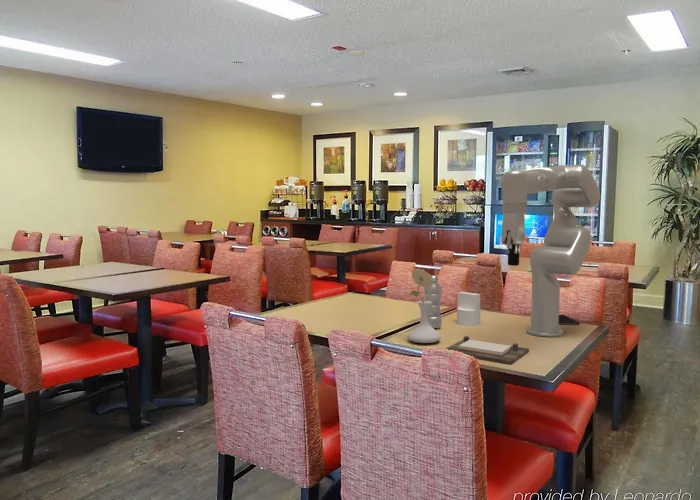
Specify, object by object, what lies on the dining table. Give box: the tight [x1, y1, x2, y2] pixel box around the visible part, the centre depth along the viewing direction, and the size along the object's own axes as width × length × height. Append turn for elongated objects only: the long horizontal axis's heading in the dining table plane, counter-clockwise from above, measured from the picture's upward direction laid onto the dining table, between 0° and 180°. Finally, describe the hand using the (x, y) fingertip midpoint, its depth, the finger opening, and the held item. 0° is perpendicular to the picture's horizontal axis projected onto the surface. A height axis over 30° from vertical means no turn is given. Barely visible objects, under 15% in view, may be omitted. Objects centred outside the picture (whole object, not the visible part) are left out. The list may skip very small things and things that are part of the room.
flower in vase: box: [407, 268, 442, 344], centre depth 190 cm, size 13×11×25 cm
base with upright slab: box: [456, 291, 481, 327], centre depth 217 cm, size 9×9×12 cm
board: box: [445, 335, 530, 366], centre depth 177 cm, size 17×22×3 cm
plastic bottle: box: [423, 274, 443, 329], centre depth 209 cm, size 6×7×20 cm
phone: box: [559, 314, 580, 326], centre depth 222 cm, size 8×1×15 cm
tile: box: [459, 339, 513, 356], centre depth 176 cm, size 9×14×1 cm, turn 55°
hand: (513, 265), depth 182 cm, fingers closed
